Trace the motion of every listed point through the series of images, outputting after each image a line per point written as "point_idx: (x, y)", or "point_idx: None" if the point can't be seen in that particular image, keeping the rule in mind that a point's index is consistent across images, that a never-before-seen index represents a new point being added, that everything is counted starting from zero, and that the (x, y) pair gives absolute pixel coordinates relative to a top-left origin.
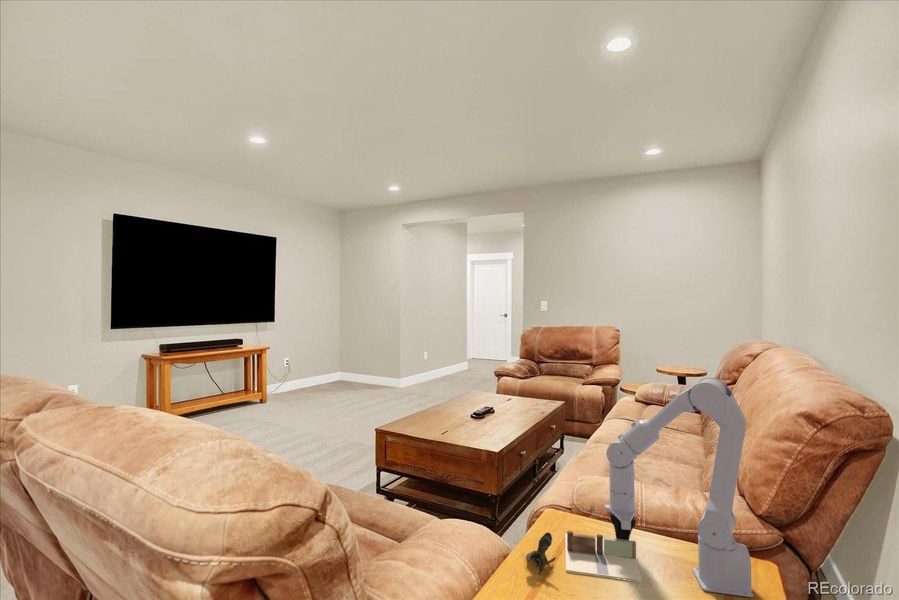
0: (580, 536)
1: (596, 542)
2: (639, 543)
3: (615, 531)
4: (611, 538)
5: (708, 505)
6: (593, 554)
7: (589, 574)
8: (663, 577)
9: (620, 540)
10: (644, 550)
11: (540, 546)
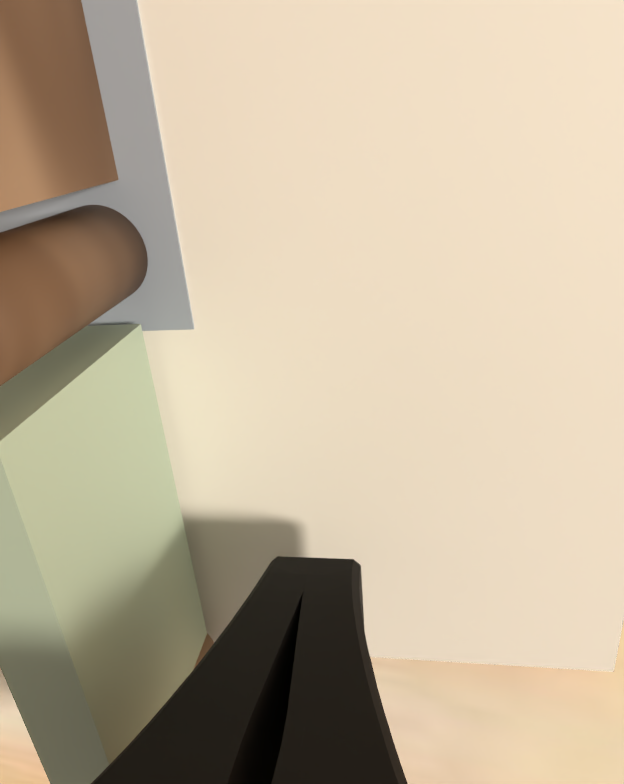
0: None
1: (466, 206)
2: (614, 730)
3: (109, 767)
4: (38, 583)
5: None
6: None
7: None
8: (30, 755)
9: (51, 703)
10: (453, 737)
11: None
